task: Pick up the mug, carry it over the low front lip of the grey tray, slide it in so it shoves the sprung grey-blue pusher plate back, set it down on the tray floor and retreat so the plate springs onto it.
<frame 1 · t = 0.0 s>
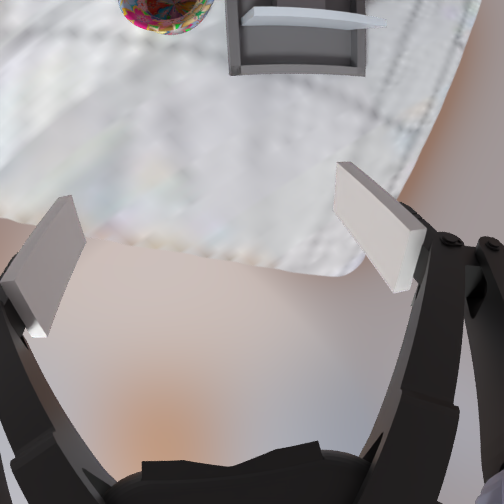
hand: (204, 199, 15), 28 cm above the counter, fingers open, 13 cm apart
mug: (164, 2, 29), on the counter
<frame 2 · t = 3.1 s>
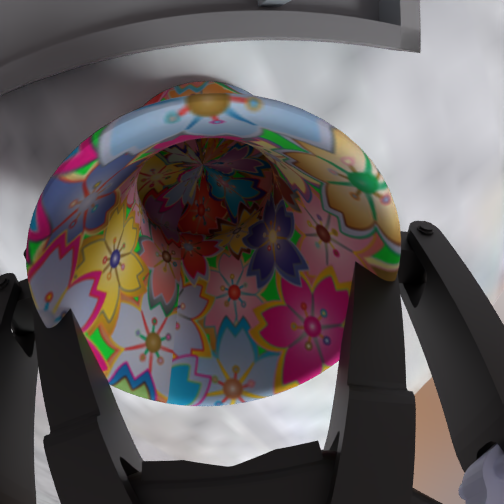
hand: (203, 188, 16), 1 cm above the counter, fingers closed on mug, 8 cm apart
mug: (192, 182, 17), on the counter, touching gripper
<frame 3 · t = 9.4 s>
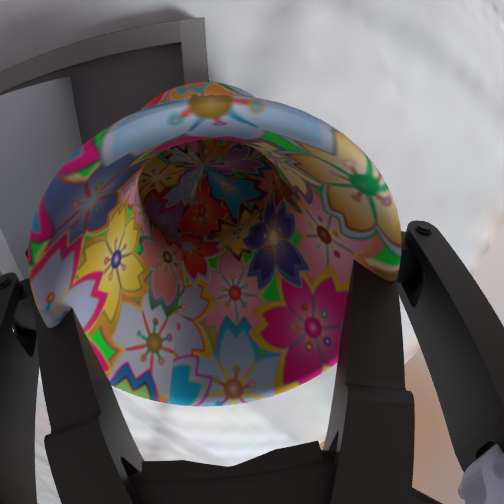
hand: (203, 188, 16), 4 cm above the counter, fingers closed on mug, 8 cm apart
mug: (193, 183, 17), point 3 cm above the counter, touching gripper
pusher: (13, 231, 14), point 6 cm above the counter, slide at 1.5 cm, touching gripper
grey tray: (11, 198, 18), on the counter
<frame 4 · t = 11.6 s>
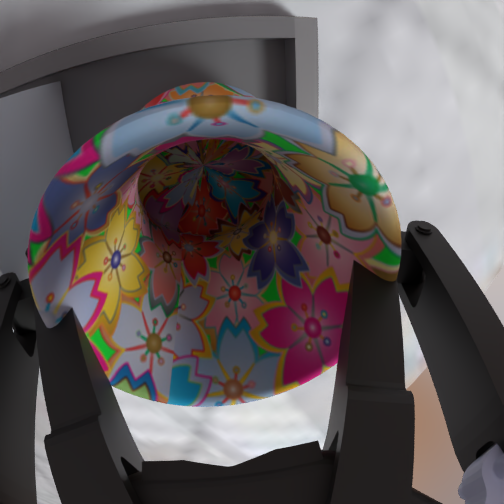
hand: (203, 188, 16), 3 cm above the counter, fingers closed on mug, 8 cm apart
mug: (192, 183, 17), point 3 cm above the counter, touching gripper
pusher: (4, 241, 13), point 6 cm above the counter, slide at 7.4 cm, touching gripper
grey tray: (70, 189, 18), on the counter
when the fingers open (3 cm above the counter, at t = 12.1 s): mug drops 2 cm, resting on grey tray.
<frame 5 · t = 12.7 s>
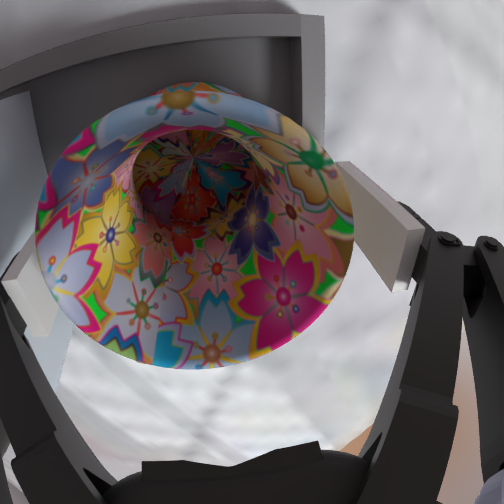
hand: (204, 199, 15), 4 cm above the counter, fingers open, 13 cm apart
mug: (184, 174, 18), resting on grey tray
grey tray: (69, 191, 18), on the counter
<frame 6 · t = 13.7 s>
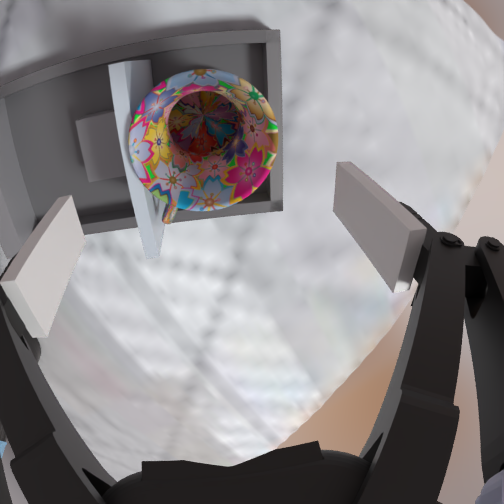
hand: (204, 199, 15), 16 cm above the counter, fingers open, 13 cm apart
mug: (197, 126, 28), resting on grey tray
pusher: (109, 153, 23), point 6 cm above the counter, slide at 4.5 cm
grey tray: (120, 137, 28), on the counter
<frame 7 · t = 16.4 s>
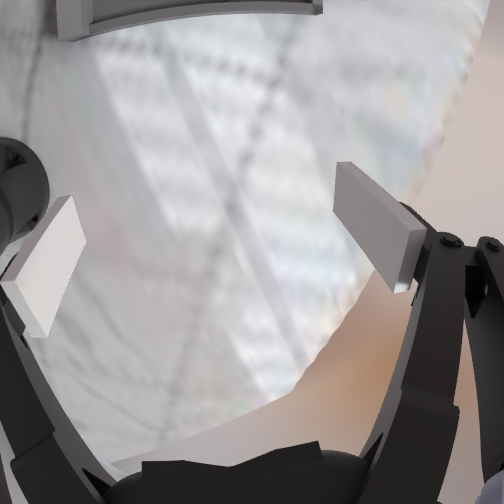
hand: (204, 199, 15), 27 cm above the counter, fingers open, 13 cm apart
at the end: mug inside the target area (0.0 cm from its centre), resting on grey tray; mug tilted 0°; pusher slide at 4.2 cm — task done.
